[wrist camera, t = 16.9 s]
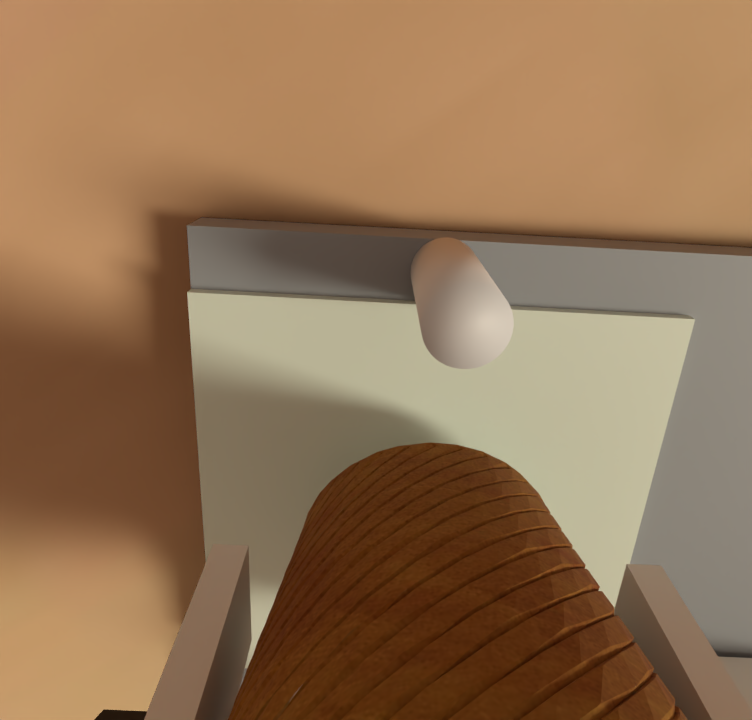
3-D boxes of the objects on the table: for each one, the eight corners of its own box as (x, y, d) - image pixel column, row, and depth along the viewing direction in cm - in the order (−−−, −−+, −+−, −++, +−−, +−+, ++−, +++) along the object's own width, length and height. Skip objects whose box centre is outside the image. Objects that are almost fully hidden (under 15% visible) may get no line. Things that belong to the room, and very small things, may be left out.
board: (201, 215, 15) (114, 262, 10) (957, 256, 15) (1230, 321, 10) (232, 777, 23) (192, 955, 18) (727, 798, 23) (820, 979, 18)
